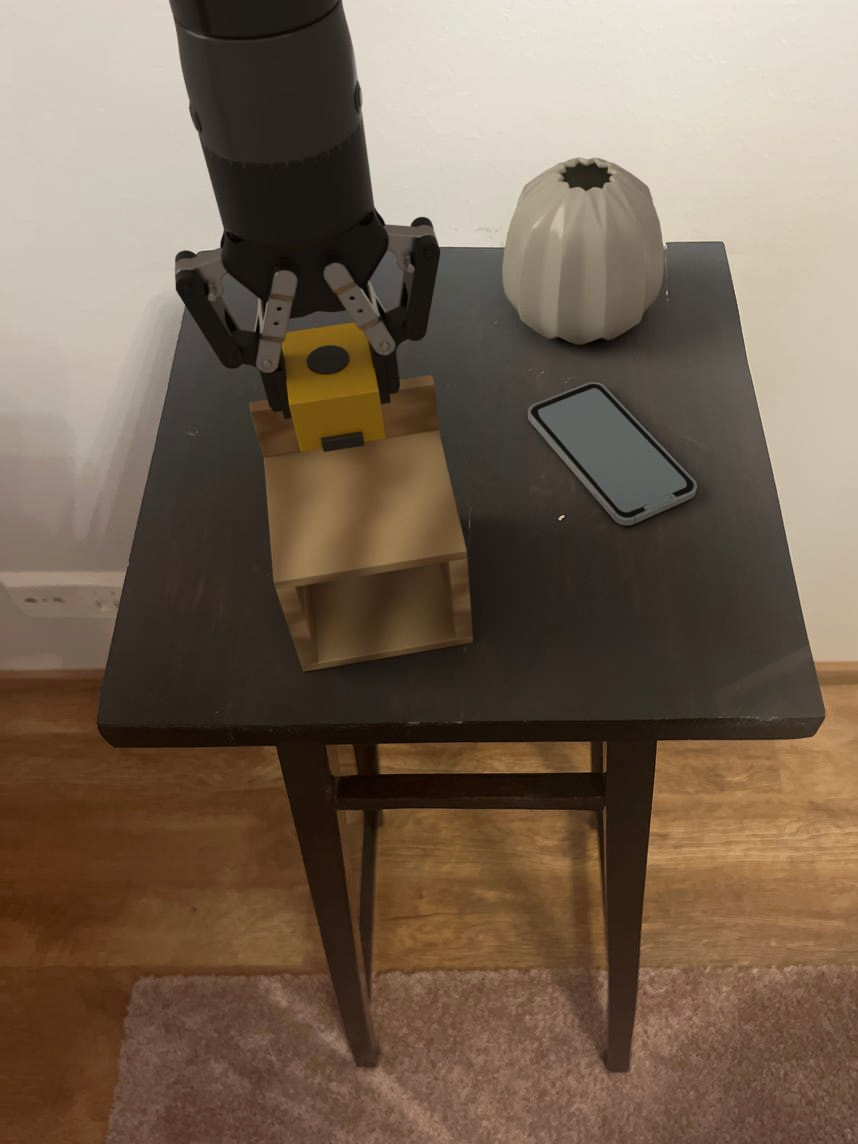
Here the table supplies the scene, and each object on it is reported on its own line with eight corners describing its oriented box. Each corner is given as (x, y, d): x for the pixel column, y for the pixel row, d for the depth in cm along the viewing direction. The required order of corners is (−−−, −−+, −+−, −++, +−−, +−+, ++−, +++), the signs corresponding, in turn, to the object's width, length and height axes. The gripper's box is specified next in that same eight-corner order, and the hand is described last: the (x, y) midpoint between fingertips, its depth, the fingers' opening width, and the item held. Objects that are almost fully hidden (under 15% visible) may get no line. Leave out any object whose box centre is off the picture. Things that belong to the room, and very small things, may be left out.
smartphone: (598, 378, 83) (703, 488, 75) (597, 386, 84) (701, 496, 76) (522, 408, 81) (622, 523, 73) (522, 416, 82) (621, 531, 74)
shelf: (303, 672, 68) (259, 539, 56) (291, 543, 74) (249, 401, 63) (473, 643, 69) (463, 506, 57) (445, 518, 75) (432, 374, 64)
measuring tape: (301, 457, 56) (289, 407, 53) (292, 381, 60) (279, 330, 57) (387, 443, 57) (379, 393, 54) (372, 368, 61) (364, 317, 58)
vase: (531, 259, 94) (532, 119, 83) (672, 285, 91) (692, 144, 80) (482, 347, 87) (476, 206, 76) (633, 378, 84) (649, 236, 73)
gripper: (421, 55, 47) (444, 345, 61) (120, 92, 46) (213, 380, 60) (448, 133, 43) (465, 426, 57) (117, 177, 42) (217, 465, 55)
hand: (336, 401), depth 58 cm, fingers closed on measuring tape, 5 cm apart
